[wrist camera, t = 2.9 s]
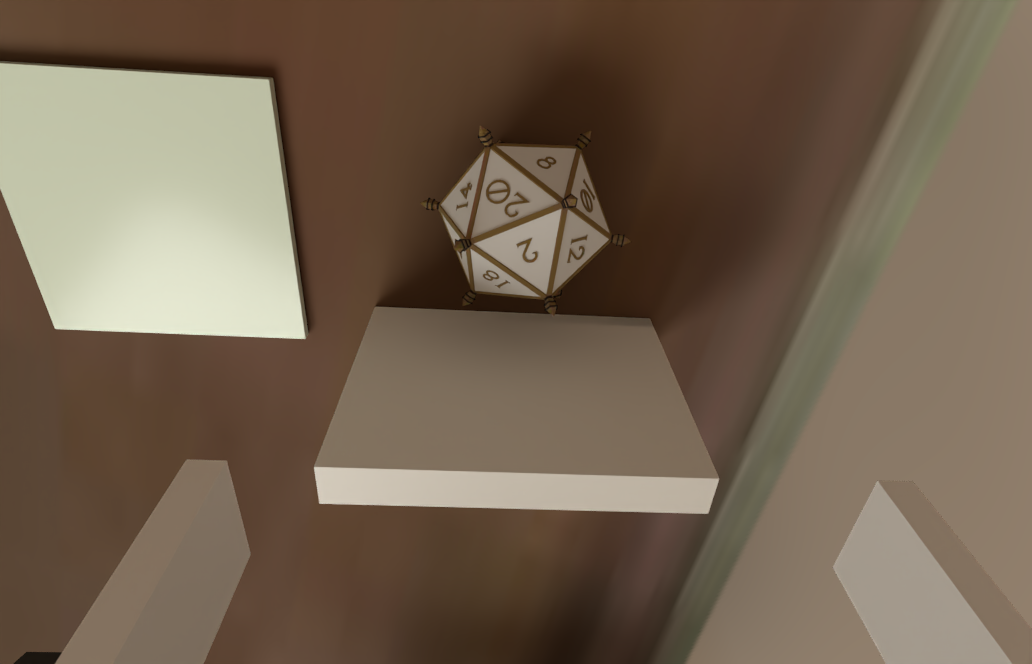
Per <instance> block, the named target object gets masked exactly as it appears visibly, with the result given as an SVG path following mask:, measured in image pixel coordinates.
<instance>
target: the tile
mask: <svg viewBox="0 0 1032 664" xmlns="http://www.w3.org/2000/svg"><path fill="white" fill-rule="evenodd" d="M0 189H1V191H2V194H3V197H4V199H5V202H6V204H7V207H8V209H9V212H10V214H11V217H12V220H13V222H14V225H15V227H16V230H17V232H18V235H19V237H20V240H21V243H22V245H23V248H24V250H25V253H26V255H27V258H28V261H29V263H30V266H31V268H32V271H33V273H34V276H35V278H36V281H37V284H38V286H39V289H40V291H41V294H42V296H43V299H44V302H45V304H46V307H47V309H48V312H49V314H50V317H51V319H52V322H53V325H54V327H55V329H69V330H94V331H120V332H145V333H170V334H195V335H220V336H245V337H270V338H296V339H306V337H307V335H308V327H307V320H306V313H305V306H304V298H303V291H302V284H301V277H300V269H299V262H298V255H297V248H296V240H295V233H294V226H293V219H292V211H291V204H290V197H289V190H288V182H287V175H286V168H285V161H284V153H283V146H282V139H281V132H280V124H279V117H278V110H277V103H276V95H275V88H274V81H273V78H271V77H255V76H238V75H222V74H206V73H189V72H173V71H156V70H140V69H124V68H107V67H91V66H74V65H58V64H42V63H25V62H9V61H0Z"/></svg>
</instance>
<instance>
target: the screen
mask: <svg viewBox="0 0 1032 664" xmlns="http://www.w3.org/2000/svg"><path fill="white" fill-rule="evenodd" d="M314 470H315V477H316V484H317V490H318V497H319V503H320V504H355V505H393V506H431V507H469V508H507V509H545V510H583V511H621V512H659V513H697V514H708V512H709V509H710V506H711V503H712V500H713V497H714V494H715V491H716V487H717V484H718V481H719V477H718V475H717V472H716V470H715V468H714V465H713V463H712V461H711V459H710V456H709V454H708V452H707V449H706V447H705V445H704V442H703V440H702V438H701V435H700V433H699V431H698V428H697V426H696V424H695V422H694V419H693V417H692V415H691V412H690V410H689V408H688V405H687V403H686V401H685V398H684V396H683V394H682V392H681V389H680V387H679V385H678V382H677V380H676V378H675V375H674V373H673V371H672V368H671V366H670V364H669V361H668V359H667V357H666V355H665V352H664V350H663V348H662V345H661V343H660V341H659V338H658V336H657V334H656V331H655V329H654V327H653V324H652V322H651V320H650V318H630V317H607V316H583V315H560V314H555V315H554V316H553V315H551V314H537V313H513V312H490V311H466V310H443V309H419V308H396V307H375V308H374V310H373V313H372V316H371V318H370V321H369V324H368V326H367V329H366V331H365V334H364V337H363V339H362V342H361V345H360V347H359V350H358V352H357V355H356V358H355V360H354V363H353V366H352V368H351V371H350V373H349V376H348V379H347V381H346V384H345V387H344V389H343V392H342V395H341V397H340V400H339V402H338V405H337V408H336V410H335V413H334V416H333V418H332V421H331V423H330V426H329V429H328V431H327V434H326V437H325V439H324V442H323V444H322V447H321V450H320V452H319V455H318V458H317V460H316V463H315V466H314Z"/></svg>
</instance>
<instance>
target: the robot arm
mask: <svg viewBox="0 0 1032 664" xmlns="http://www.w3.org/2000/svg"><path fill="white" fill-rule="evenodd" d="M250 554H251V553H250V550H249V546H248V542H247V538H246V534H245V530H244V526H243V522H242V518H241V514H240V510H239V507H238V503H237V499H236V495H235V491H234V487H233V483H232V479H231V475H230V471H229V468H228V464H227V461H218V460H186V461H185V463H184V464H183V466H182V467H181V469H180V471H179V472H178V474H177V475H176V477H175V478H174V480H173V481H172V483H171V484H170V486H169V488H168V489H167V491H166V492H165V494H164V495H163V497H162V498H161V500H160V502H159V503H158V505H157V506H156V508H155V509H154V511H153V512H152V514H151V515H150V517H149V519H148V520H147V522H146V523H145V525H144V526H143V528H142V529H141V531H140V533H139V534H138V536H137V537H136V539H135V540H134V542H133V543H132V545H131V546H130V548H129V550H128V551H127V553H126V554H125V556H124V557H123V559H122V560H121V562H120V564H119V565H118V567H117V568H116V570H115V571H114V573H113V574H112V576H111V578H110V579H109V581H108V582H107V584H106V585H105V587H104V588H103V590H102V591H101V593H100V595H99V596H98V598H97V599H96V601H95V602H94V604H93V605H92V607H91V609H90V610H89V612H88V613H87V615H86V616H85V618H84V619H83V621H82V622H81V624H80V626H79V627H78V629H77V630H76V632H75V633H74V635H73V636H72V638H71V640H70V641H69V643H68V644H67V646H66V647H65V649H64V650H63V652H62V653H60V652H26V653H25V654H24V655H23V656H22V657H20V658H19V659H18V660H17V661H16V662H15V663H14V664H204V661H205V659H206V657H207V654H208V652H209V650H210V647H211V645H212V643H213V640H214V638H215V636H216V633H217V631H218V629H219V626H220V624H221V622H222V620H223V617H224V615H225V613H226V610H227V608H228V606H229V603H230V601H231V599H232V596H233V594H234V592H235V589H236V587H237V585H238V582H239V580H240V578H241V575H242V573H243V571H244V568H245V566H246V564H247V561H248V559H249V557H250ZM833 569H834V571H835V573H836V575H837V576H838V578H839V580H840V582H841V583H842V585H843V587H844V589H845V591H846V593H847V594H848V596H849V598H850V600H851V602H852V603H853V605H854V607H855V609H856V611H857V612H858V614H859V616H860V618H861V620H862V621H863V623H864V625H865V627H866V629H867V630H868V632H869V634H870V636H871V638H872V640H873V641H874V643H875V645H876V647H877V649H878V650H879V652H880V654H881V656H882V658H883V659H884V661H885V663H886V664H1032V628H1031V627H1030V626H1029V625H1028V624H1027V622H1026V621H1025V620H1024V619H1023V617H1022V616H1021V615H1020V614H1019V612H1018V611H1017V610H1016V609H1015V607H1014V606H1013V605H1012V604H1011V602H1010V601H1009V600H1008V599H1007V597H1006V596H1005V595H1004V594H1003V593H1002V591H1001V590H1000V589H999V587H998V586H997V585H996V584H995V582H994V581H993V580H992V579H991V577H990V576H989V575H988V574H987V573H986V571H985V570H984V569H983V568H982V566H981V565H980V564H979V563H978V561H977V560H976V559H975V558H974V557H973V555H972V554H971V553H970V551H969V550H968V549H967V548H966V546H965V545H964V544H963V543H962V542H961V540H960V539H959V538H958V536H957V535H956V534H955V533H954V532H953V530H952V529H951V528H950V527H949V525H948V524H947V523H946V522H945V520H944V519H943V518H942V517H941V516H940V514H939V513H938V512H937V510H936V509H935V508H934V507H933V505H932V504H931V503H930V502H929V500H928V499H927V498H926V497H925V496H924V494H923V493H922V492H921V491H920V490H919V488H918V487H917V486H916V484H915V483H914V482H911V481H909V482H908V481H877V482H876V484H875V486H874V488H873V490H872V492H871V494H870V496H869V498H868V500H867V502H866V504H865V506H864V508H863V509H862V511H861V513H860V515H859V517H858V519H857V521H856V523H855V525H854V527H853V529H852V531H851V533H850V535H849V537H848V539H847V540H846V543H845V544H844V546H843V548H842V550H841V552H840V554H839V556H838V558H837V560H836V562H835V564H834V566H833Z"/></svg>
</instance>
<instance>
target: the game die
mask: <svg viewBox="0 0 1032 664" xmlns="http://www.w3.org/2000/svg"><path fill="white" fill-rule="evenodd" d="M591 131H592V130H591ZM591 131H589V132H586V133H584V134H580V135H581V136H580V138H578V139H577V140H578V142H577V144H576V145H575V146H574V145H545V144H515V143H504V142H501V141H500V140H498V142H497V143H492V138H493V137H492V136H491V135H490V133H491V132H490V131H489V130H488V129H487V130H486V129H485V128H483V127H482V126H481V125H480V131H479V136H478V138H480V140H481V143H483V144H484V145H485V147H484V149H483V150H482V151H481V152H480V154H479V155H478V156H477V157H476V158H475V160H474V161H473V162H472V163H471V165H470V166H469V167H468V168H467V170H466V171H465V172H464V173H463V175H462V176H461V177H460V178H459V180H458V181H457V182H456V183H455V185H454V186H453V187H452V188H451V189H450V191H449V192H448V193H447V194H446V196H445V197H444V198H443V199H442V201H441V202H437V201H435V199H433V200H431V199H430V198H429V199H428V200H425V201H423V202H421V204H422V205H423V206H424V207H425V208H426V210H429V209H431V210H434V209H438V210H439V212H440V215H441V217H442V220H443V222H444V225H445V227H446V230H447V232H448V235H449V237H450V239H451V242H452V244H453V249H455V252H456V254H457V257H458V259H459V262H460V264H461V267H462V269H463V272H464V274H465V277H466V279H467V282H468V284H469V286H470V289H471V290H470V291H469V292H467V293H466V295H465V296H464V297H462V298H463V306H465V305H468V304H472V301H473V300H475V295H476V294H487V295H497V296H508V297H519V298H530V299H541V300H545V304H544V306H545V308H546V309H545V311H547V312H549V313H550V314H551V315H553V316H554V315H555V311H556V310H557V305H556V304H555V302H556V301H555V300H553V299H552V297H554V298H555V297H556V298H558V299H560V296H561V293H562V290H561V289H562V288H563V287H564V286H565V285H566V284H567V283H568V282H569V281H570V280H571V279H572V278H573V277H574V276H575V275H577V274H578V273H579V272H580V271H581V270H582V269H583V268H584V267H585V266H586V265H587V264H588V263H589V262H590V261H591V260H592V259H593V258H594V257H595V256H596V255H598V254H599V253H600V252H601V251H602V250H603V249H604V248H605V247H606V246H607V245H608V244H609V243H610V242H613V243H615V244H616V246H617V245H621V247H622V246H623V245H625V244H628V243H630V242H631V241H630V240H629V239H627V238H626V237H625V235H623V236H622V235H619V234H618V235H612V233H611V231H610V228H609V225H608V222H607V220H606V217H605V214H604V211H603V209H602V206H601V203H600V200H599V197H598V195H597V192H596V189H595V186H594V184H593V181H592V178H591V175H590V173H589V170H588V167H587V164H586V161H585V159H584V156H583V153H582V149H583V148H584V147H585V146H587V144H588V142H591V140H590V137H591Z"/></svg>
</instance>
